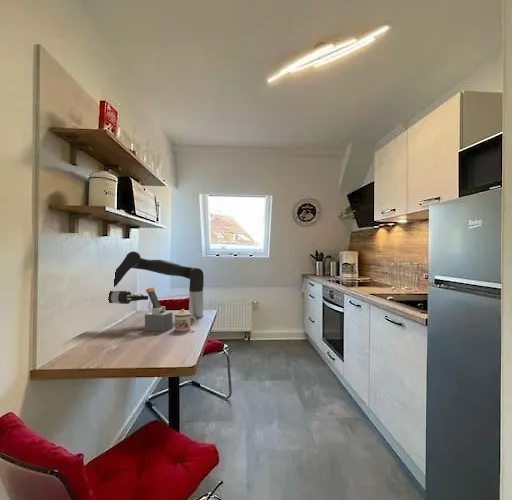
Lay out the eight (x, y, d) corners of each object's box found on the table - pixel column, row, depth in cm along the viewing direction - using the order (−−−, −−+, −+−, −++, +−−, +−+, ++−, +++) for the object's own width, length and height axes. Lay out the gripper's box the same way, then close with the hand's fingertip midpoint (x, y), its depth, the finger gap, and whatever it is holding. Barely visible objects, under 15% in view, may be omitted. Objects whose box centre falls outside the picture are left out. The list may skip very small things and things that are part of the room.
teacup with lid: (173, 331, 198) (172, 310, 198) (176, 328, 207) (176, 308, 207) (194, 331, 198) (194, 310, 198) (197, 327, 207) (197, 307, 208)
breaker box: (144, 330, 202) (144, 308, 202) (154, 327, 211) (153, 305, 211) (164, 331, 199) (163, 309, 199) (172, 327, 208) (172, 306, 208)
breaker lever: (155, 313, 203) (145, 290, 204) (160, 312, 208) (150, 289, 209) (158, 312, 202) (148, 288, 204) (163, 310, 207) (153, 287, 209)
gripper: (114, 292, 205) (141, 292, 200) (128, 289, 217) (153, 290, 213) (114, 305, 205) (141, 306, 200) (128, 302, 217) (153, 302, 213)
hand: (147, 297), depth 207 cm, fingers closed
